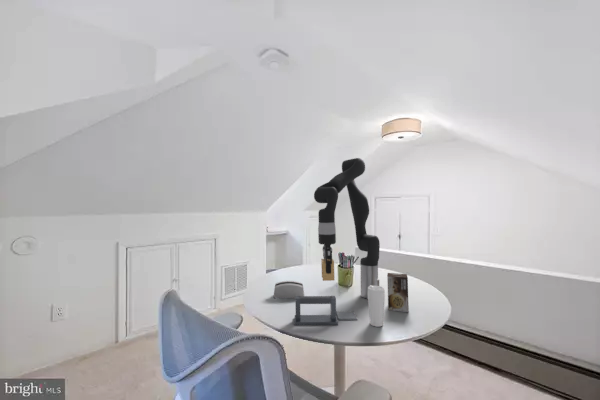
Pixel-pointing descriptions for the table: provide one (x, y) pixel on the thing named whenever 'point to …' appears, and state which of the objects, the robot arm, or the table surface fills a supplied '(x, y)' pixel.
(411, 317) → the table surface
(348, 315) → the slate pad
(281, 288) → the grey curved block
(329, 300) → the rail stand
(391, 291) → the cookie box
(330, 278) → the block
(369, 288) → the drinking glass
